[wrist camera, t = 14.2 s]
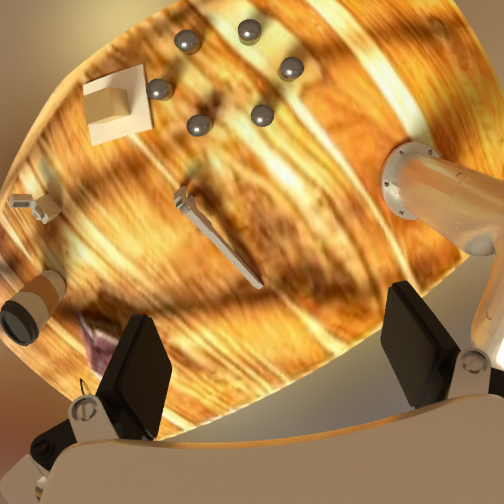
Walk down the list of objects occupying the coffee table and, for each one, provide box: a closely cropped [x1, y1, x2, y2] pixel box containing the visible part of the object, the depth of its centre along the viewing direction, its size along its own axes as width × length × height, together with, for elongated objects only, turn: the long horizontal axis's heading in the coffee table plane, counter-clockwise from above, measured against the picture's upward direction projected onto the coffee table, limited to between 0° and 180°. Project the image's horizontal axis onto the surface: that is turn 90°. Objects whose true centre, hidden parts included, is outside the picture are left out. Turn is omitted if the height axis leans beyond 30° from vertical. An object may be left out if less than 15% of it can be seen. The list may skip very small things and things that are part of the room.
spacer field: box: [146, 19, 304, 137], centre depth 32 cm, size 20×15×4 cm
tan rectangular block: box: [82, 86, 130, 125], centre depth 32 cm, size 4×4×6 cm
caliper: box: [174, 186, 263, 289], centre depth 42 cm, size 20×1×6 cm, turn 35°
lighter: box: [9, 194, 62, 224], centre depth 37 cm, size 7×2×8 cm, turn 41°
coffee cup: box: [0, 270, 66, 346], centre depth 41 cm, size 8×8×15 cm
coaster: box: [83, 64, 153, 146], centre depth 35 cm, size 10×10×1 cm
